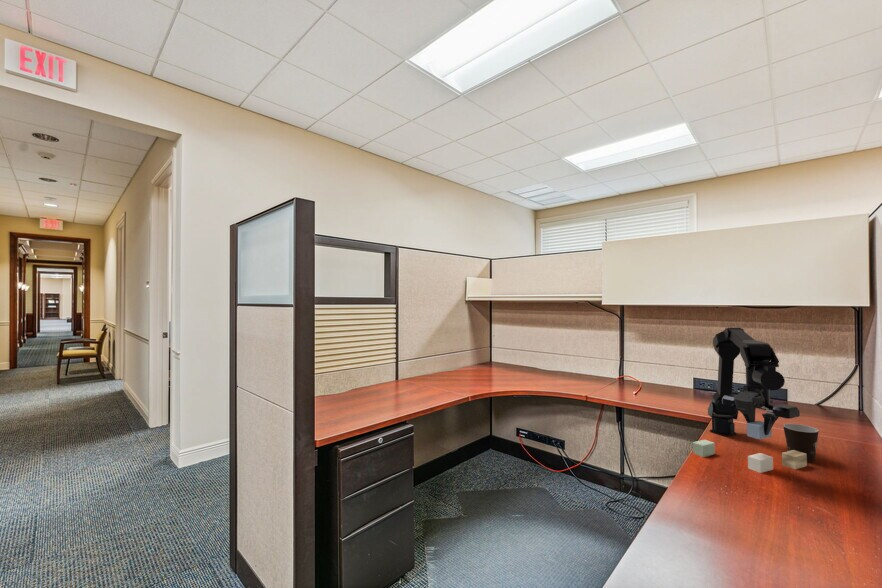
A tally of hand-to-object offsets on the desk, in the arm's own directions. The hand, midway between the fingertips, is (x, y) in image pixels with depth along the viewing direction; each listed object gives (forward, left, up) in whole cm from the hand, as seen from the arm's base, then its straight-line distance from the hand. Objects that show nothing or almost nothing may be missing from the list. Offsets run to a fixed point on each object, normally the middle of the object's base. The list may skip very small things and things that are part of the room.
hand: (759, 433), depth 122 cm
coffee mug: (+1, +22, -11) cm, 25 cm away
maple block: (+3, +12, -11) cm, 17 cm away
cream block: (0, 0, -11) cm, 11 cm away
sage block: (-15, -4, -11) cm, 19 cm away
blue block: (0, 0, -1) cm, 1 cm away
